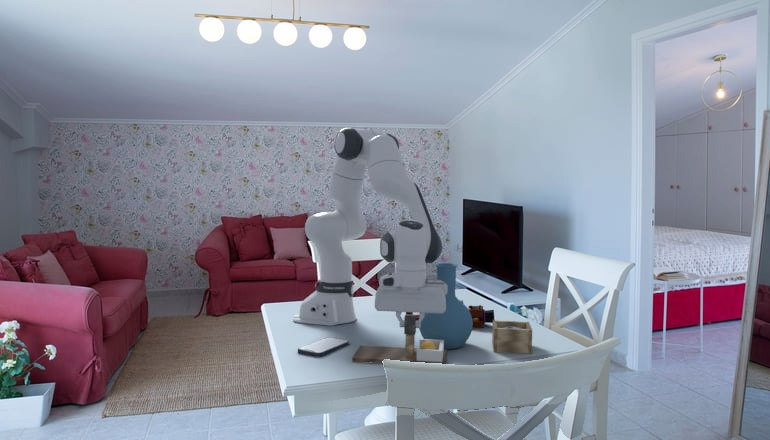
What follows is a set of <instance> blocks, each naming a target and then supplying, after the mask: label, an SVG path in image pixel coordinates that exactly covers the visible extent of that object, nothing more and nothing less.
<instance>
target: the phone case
mask: <svg viewBox="0 0 770 440" xmlns="http://www.w3.org/2000/svg"><path fill="white" fill-rule="evenodd" d="M349 345H350V341H348V340H345V339H341V338H332V337H325V338H322V339H319V340H317V341H314V342H311V343H308V344H306V345H304V346H303V345H302V346H301V347H298V348H297V353H298V354H300V355H304V356H309V357H315V358H322V357H325V356H327V355H329V354H332V353H334V352H336V351H338V350H340V349H342V348H344V347H347V346H349Z"/></svg>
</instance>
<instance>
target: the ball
mask: <svg viewBox="0 0 770 440" xmlns="http://www.w3.org/2000/svg"><path fill="white" fill-rule="evenodd" d="M421 349H431V350H435V345H434V343H433V342H431V341H425V342H424V343H423V344H422V346H421Z"/></svg>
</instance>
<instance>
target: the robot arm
mask: <svg viewBox="0 0 770 440" xmlns="http://www.w3.org/2000/svg"><path fill="white" fill-rule="evenodd" d="M334 151H335V153H336V155H337V157H336V159H335V163H334V166H333V171H332V174H331V180H330V183H329V188H328V193H329V196H330V197H331V199H332V200H333V201H334V205H335V207H334V211H322V212H318V213H316V214H315V213H314V214H313V215H310V216H309V217H308V218H307V219H306V222H305V224H304V232H305V235H306V238H307V239H308V241H310V242H311V243H312V244H313V245H314V246H315V248H316V249H317V252H318V256H319V260H320V278H319V279H317V281H316V282H315V284H314V288H315V291H313V292H312V293H310V294H309V296H307V297H305V299H304V300H302V302H301V304H300V307H299V312H298V313H296V314H294V315H293V318H292V321H293V323H300V324H310V325H319V326H331V327H332V326H336V325H341V324H348V323H352V322H355V321H356V320H357V316H356V313H355V307H354V300H353V296H354V280H353V261H352V260H353V259H352V258H351V256H350V255H349V254H347V253H346V252H345V251H344V248H343V242H349V241H351V242H352V241H354V240H357V239H359V238H361V237H363V236H364V235H365V234H366V231H367V220H366V218H365V216H364V215H363V213H362V211H361V206H360V205H361V204H360V203H361V202H360V200H361V194H362V189H363V184H364V180H365V176H366V171H368V178H369V182H370V185H371V188H372V189H373V190H374V191H375V192H376V193H378V194H379V195H380V196H382V197H384V198H387V199H390V200H393V201H396V202H397V203H400V204H403V205H404V206H405V207H407V208H408V210H409V211H410V214H411V216H412V220H403V221H400V222H398V224H397V226H396V228H395V229H393V230H391V231H387V232H386V233H384V235H383V236H382V237H381V238H380V241H379V248H380V249H379V251H380V252H379V253H380V256H381V257H382V258H383V260H384V261H386V262H387V263H390V264H395V268H394V271H395V272H391V273H387V274H384V275H382V276H380V278H379V280H378V284H379V286H378V288H377V289H376V291H375V292H376V293H375V298H374V309H375V310H376V311H378V312H394V313H395V316H396V318H397V320H398V322H399V328H404V319H403V318H402V316H401V315H402V313H406V312H413V313H417V314H418V315H419V316H421V317H420V319H419V321H416V322H415V328H416V329H419V328H421V321H422V319H423V318H424V316H425V313H444V312H445V311H446V297H445V295H446V294H447V292H448V286H447V284H446V283H445V282H443V281H442V280H437V279H427V264H432V263H434V262H435V261H436V260H438V258H439V257H440V256H441V254H442V251H443V243H442V239H441V237H440V235H439V233H438V232H437V231H438V230H437V229H436V227H435V226H434V223H433V221H432V217H431V216H430V213H429V210H428V207H427V205H426V202H425V200H424V197H423V195H422V193H421V190H420V187H419V186H418V185H417V184H416V183H415V182H413V181H412V180H411V179H410V177H409V176H408V174H407V173H406V171H405V169H404V163H403V159H402V156H401V155H402V154H401V152H400V143H399V140H398V138H397V137H396V136H395V135H392V134H390V133H389V132H382V131H378V130H374V129H363V128H354V127H345V128H342V129H340V130H339V132H338V133H337V134H336V136H335V140H334ZM442 283H444V284H442Z"/></svg>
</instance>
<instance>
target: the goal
mask: <svg viewBox="0 0 770 440" xmlns="http://www.w3.org/2000/svg"><path fill="white" fill-rule="evenodd" d="M425 341H431V342H433V343H434V345H435V350H431V349H421V346H422V344H423V343H424V342H425ZM419 348H420V349H417V361H435V362H442V360H443V353H444V350H445V349H444V340H435V339H424V338H420V339H419Z"/></svg>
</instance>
